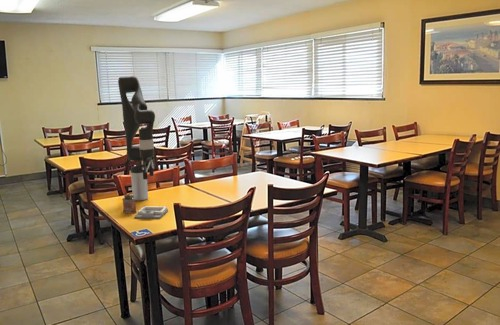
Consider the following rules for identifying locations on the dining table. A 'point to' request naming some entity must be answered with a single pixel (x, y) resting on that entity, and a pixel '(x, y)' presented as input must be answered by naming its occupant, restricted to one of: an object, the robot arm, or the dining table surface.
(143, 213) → the grey flat square tray
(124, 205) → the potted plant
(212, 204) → the dining table surface
